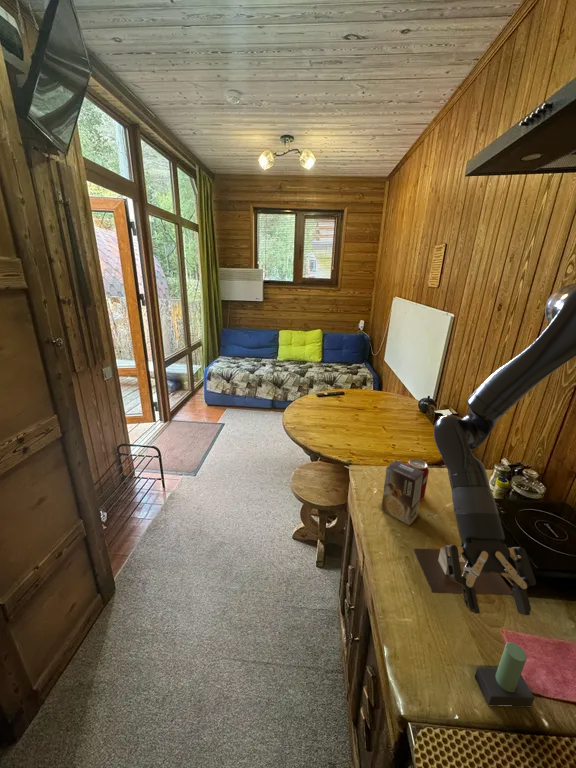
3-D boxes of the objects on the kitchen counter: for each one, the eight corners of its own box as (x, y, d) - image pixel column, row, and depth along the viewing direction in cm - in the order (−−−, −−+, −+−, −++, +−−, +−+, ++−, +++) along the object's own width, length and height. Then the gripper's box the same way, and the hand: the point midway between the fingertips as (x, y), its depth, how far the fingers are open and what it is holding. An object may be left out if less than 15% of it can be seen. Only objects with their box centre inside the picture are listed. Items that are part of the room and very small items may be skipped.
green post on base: (474, 676, 54) (486, 637, 51) (514, 678, 54) (528, 638, 51) (488, 706, 51) (502, 665, 48) (531, 707, 50) (547, 666, 47)
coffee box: (418, 518, 92) (426, 472, 87) (408, 529, 87) (416, 481, 82) (389, 503, 98) (395, 459, 93) (379, 513, 93) (385, 467, 89)
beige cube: (454, 560, 76) (457, 548, 74) (462, 575, 72) (466, 562, 71) (437, 560, 76) (440, 547, 75) (445, 574, 72) (448, 561, 71)
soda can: (417, 504, 97) (423, 472, 94) (398, 493, 102) (402, 462, 99) (427, 496, 101) (433, 464, 98) (409, 486, 106) (413, 455, 103)
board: (481, 554, 79) (482, 550, 79) (513, 599, 68) (514, 594, 67) (411, 552, 80) (412, 548, 79) (431, 597, 68) (432, 592, 68)
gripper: (448, 509, 58) (469, 616, 50) (525, 512, 57) (557, 620, 50) (431, 513, 64) (448, 608, 57) (500, 515, 64) (526, 610, 57)
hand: (499, 613), depth 53 cm, fingers open, 8 cm apart
